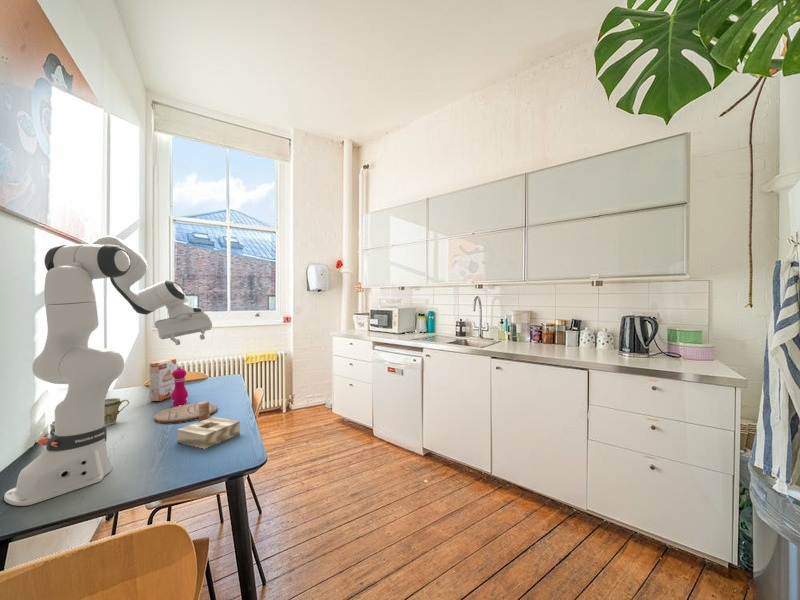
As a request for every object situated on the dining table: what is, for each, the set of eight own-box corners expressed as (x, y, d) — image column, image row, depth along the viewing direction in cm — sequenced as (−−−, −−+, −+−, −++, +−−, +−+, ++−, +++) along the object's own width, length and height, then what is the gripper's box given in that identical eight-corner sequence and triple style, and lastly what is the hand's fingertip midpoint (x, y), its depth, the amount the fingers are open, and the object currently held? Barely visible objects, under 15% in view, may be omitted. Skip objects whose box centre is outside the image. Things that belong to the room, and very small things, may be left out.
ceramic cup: (90, 430, 144) (90, 406, 144) (90, 424, 151) (90, 401, 151) (130, 422, 152) (129, 399, 152) (128, 417, 160) (128, 395, 160)
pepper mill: (168, 405, 177) (167, 366, 177) (183, 401, 183) (182, 364, 183) (176, 407, 174) (176, 367, 174) (191, 403, 180) (190, 365, 180)
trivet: (156, 428, 145) (156, 424, 145) (152, 414, 164) (152, 410, 164) (222, 415, 160) (222, 411, 160) (211, 403, 180) (211, 400, 180)
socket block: (204, 449, 123) (204, 435, 123) (177, 442, 129) (177, 429, 129) (239, 434, 136) (239, 421, 136) (213, 428, 142) (213, 416, 142)
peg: (203, 428, 143) (202, 404, 143) (196, 427, 145) (196, 403, 145) (211, 425, 147) (211, 401, 147) (205, 424, 148) (204, 400, 148)
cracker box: (160, 402, 183) (159, 362, 183) (148, 402, 183) (148, 363, 183) (177, 394, 197) (176, 358, 197) (167, 395, 197) (166, 358, 197)
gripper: (153, 316, 144) (162, 343, 139) (207, 307, 158) (217, 332, 153) (153, 324, 148) (162, 351, 143) (205, 315, 162) (215, 339, 157)
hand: (190, 341), depth 148 cm, fingers open, 8 cm apart
